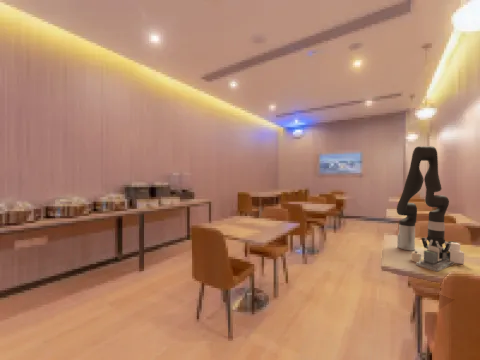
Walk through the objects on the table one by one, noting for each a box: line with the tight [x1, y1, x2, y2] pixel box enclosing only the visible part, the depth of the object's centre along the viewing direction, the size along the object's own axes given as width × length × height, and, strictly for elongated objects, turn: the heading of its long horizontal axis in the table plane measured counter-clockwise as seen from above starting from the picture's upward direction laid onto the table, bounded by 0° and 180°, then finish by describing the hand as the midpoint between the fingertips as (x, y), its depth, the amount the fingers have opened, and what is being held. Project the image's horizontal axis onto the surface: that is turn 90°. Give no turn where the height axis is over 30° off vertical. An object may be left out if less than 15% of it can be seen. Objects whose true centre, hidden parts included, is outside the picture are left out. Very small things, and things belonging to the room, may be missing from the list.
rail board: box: [415, 247, 455, 272], centre depth 133 cm, size 10×22×9 cm, turn 118°
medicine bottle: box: [446, 240, 465, 265], centre depth 138 cm, size 7×7×12 cm
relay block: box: [410, 250, 422, 263], centre depth 139 cm, size 4×4×6 cm
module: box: [428, 244, 442, 261], centre depth 133 cm, size 4×5×8 cm
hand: (435, 257), depth 133 cm, fingers closed on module, 4 cm apart
